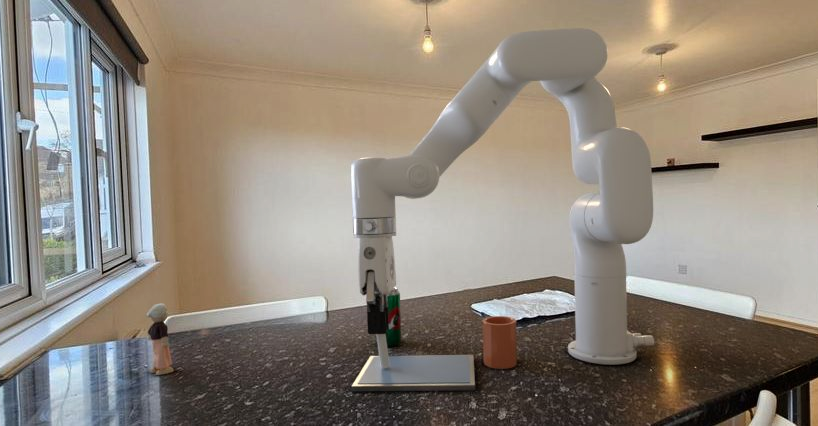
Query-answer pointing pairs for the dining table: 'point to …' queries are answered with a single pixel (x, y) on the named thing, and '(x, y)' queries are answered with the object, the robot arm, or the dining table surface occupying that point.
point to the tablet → (417, 374)
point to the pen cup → (499, 342)
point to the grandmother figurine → (159, 340)
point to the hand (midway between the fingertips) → (378, 330)
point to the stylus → (383, 350)
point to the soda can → (394, 319)
